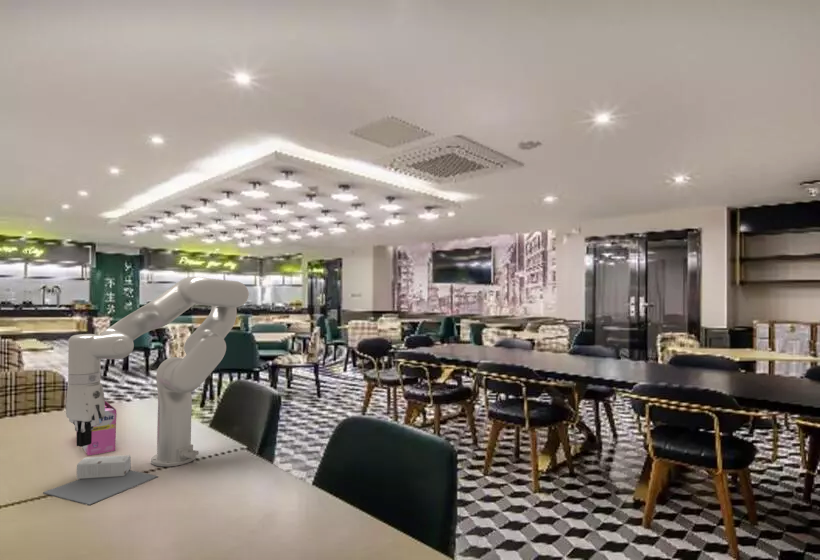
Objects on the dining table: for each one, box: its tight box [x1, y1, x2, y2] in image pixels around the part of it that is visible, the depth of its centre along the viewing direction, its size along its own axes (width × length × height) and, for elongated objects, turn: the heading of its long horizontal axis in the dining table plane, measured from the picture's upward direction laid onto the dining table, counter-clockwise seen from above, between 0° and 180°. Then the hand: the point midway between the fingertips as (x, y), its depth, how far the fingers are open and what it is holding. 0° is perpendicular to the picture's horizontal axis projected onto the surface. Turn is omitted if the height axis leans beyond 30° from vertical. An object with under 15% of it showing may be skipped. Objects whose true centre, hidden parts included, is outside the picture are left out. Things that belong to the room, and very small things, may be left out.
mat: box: [42, 469, 159, 506], centre depth 135 cm, size 18×20×1 cm
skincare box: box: [76, 454, 132, 480], centre depth 142 cm, size 6×4×12 cm
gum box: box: [75, 399, 117, 457], centre depth 169 cm, size 24×8×14 cm, turn 42°
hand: (84, 444), depth 139 cm, fingers closed
